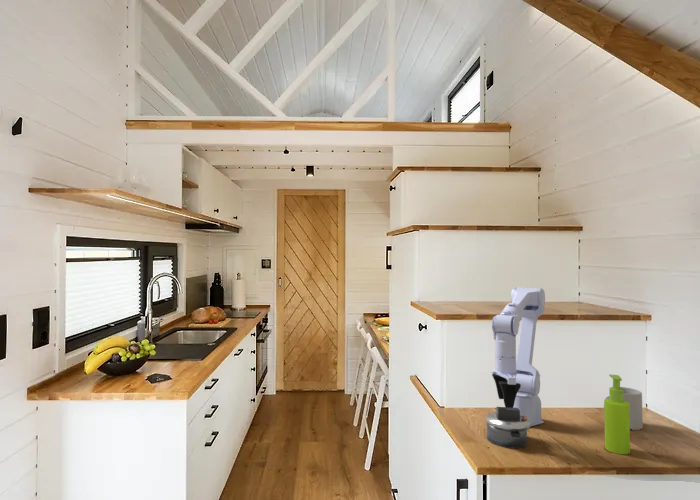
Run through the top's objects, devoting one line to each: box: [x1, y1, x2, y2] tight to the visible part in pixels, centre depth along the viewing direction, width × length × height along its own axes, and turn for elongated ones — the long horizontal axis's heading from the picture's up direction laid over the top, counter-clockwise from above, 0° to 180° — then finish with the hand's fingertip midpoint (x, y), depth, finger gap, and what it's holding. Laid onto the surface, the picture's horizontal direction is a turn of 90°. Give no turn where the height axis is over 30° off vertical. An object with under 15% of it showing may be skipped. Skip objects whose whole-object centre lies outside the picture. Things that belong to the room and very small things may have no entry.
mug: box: [605, 386, 644, 431], centre depth 135 cm, size 12×8×11 cm
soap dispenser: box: [603, 374, 631, 455], centre depth 118 cm, size 6×7×20 cm
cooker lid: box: [485, 406, 531, 431], centre depth 123 cm, size 12×12×4 cm
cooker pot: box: [486, 422, 528, 449], centre depth 123 cm, size 14×11×5 cm
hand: (505, 402), depth 124 cm, fingers open, 7 cm apart
